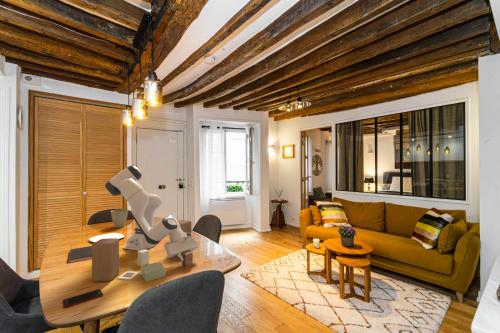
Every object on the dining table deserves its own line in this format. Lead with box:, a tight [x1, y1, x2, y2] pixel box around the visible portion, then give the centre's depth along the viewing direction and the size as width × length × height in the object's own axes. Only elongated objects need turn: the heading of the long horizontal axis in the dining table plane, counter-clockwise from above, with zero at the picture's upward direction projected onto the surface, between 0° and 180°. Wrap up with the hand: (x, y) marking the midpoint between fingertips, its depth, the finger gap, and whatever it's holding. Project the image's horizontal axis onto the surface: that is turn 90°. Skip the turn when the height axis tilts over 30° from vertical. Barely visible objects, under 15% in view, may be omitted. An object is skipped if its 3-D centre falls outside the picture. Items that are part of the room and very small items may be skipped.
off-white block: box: [137, 249, 150, 267], centre depth 148 cm, size 4×4×8 cm
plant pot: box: [110, 208, 129, 229], centre depth 235 cm, size 15×15×16 cm
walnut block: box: [181, 251, 194, 269], centre depth 145 cm, size 4×4×8 cm
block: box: [177, 219, 192, 233], centre depth 172 cm, size 10×10×20 cm
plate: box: [88, 232, 126, 243], centre depth 197 cm, size 23×23×2 cm
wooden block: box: [91, 238, 120, 283], centre depth 131 cm, size 10×10×20 cm
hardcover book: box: [67, 245, 92, 264], centre depth 164 cm, size 16×23×2 cm
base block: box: [140, 261, 166, 282], centre depth 133 cm, size 10×10×5 cm
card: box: [116, 270, 141, 281], centre depth 132 cm, size 8×8×1 cm
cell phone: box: [62, 288, 104, 309], centre depth 110 cm, size 8×15×1 cm, turn 131°
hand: (187, 258), depth 145 cm, fingers closed on walnut block, 4 cm apart
